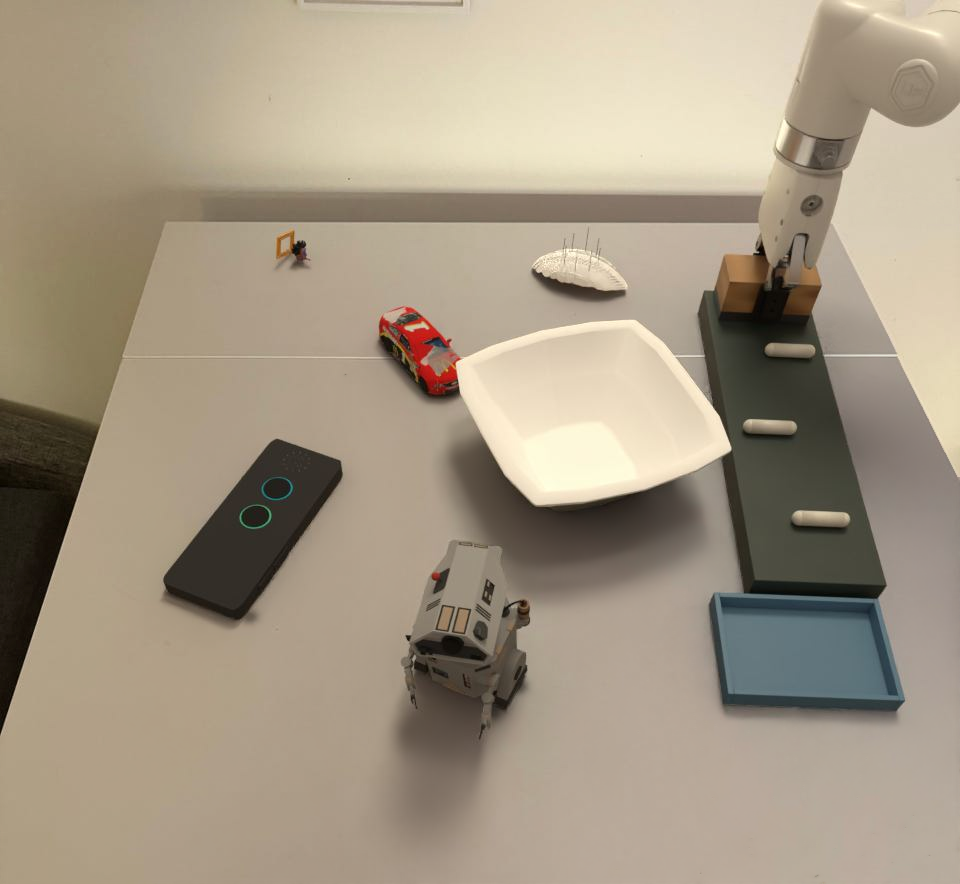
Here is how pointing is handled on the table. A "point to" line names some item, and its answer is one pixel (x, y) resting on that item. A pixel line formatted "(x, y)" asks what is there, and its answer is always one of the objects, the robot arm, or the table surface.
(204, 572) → the smart home device
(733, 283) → the eraser
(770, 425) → the chalk
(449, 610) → the figurine
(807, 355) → the chalk
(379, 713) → the table surface
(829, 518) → the chalk
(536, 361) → the bowl
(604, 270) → the pincushion
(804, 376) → the board
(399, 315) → the race car
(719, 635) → the tray
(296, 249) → the toy figure with frame
